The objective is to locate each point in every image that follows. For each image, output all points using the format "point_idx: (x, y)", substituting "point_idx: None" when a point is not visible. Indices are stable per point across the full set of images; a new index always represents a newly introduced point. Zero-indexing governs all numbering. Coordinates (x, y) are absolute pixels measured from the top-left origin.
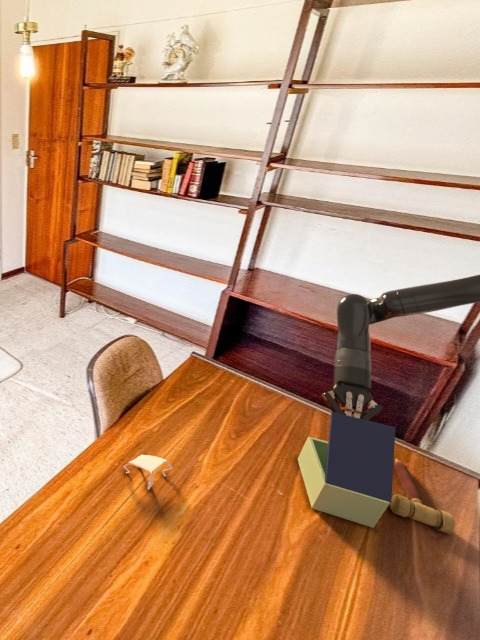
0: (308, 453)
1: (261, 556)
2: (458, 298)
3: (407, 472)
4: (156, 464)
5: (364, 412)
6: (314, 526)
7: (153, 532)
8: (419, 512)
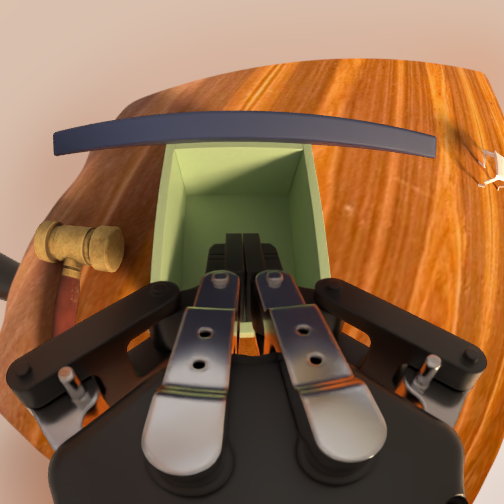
0: None
1: (361, 105)
2: None
3: None
4: (499, 165)
5: (138, 384)
6: None
7: (450, 116)
8: (83, 228)
